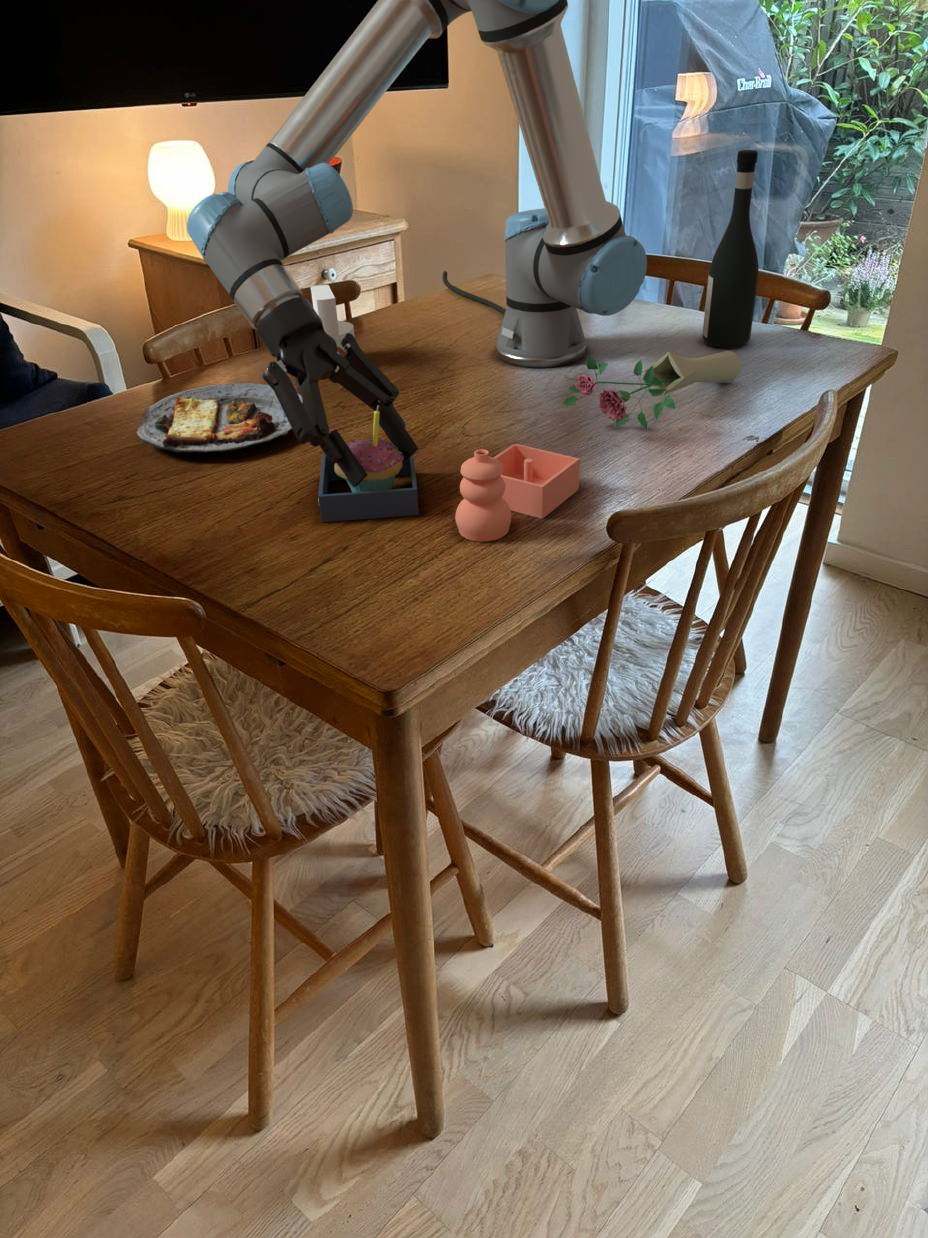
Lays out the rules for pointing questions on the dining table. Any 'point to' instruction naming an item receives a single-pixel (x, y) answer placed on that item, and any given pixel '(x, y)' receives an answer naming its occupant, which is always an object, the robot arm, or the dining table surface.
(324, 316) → the cylinder with rectangular tab
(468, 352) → the dining table surface
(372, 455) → the cupcake
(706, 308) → the wine bottle
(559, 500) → the pottery
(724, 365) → the flower vase
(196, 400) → the food plate
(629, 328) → the dining table surface
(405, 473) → the rectangular frame
